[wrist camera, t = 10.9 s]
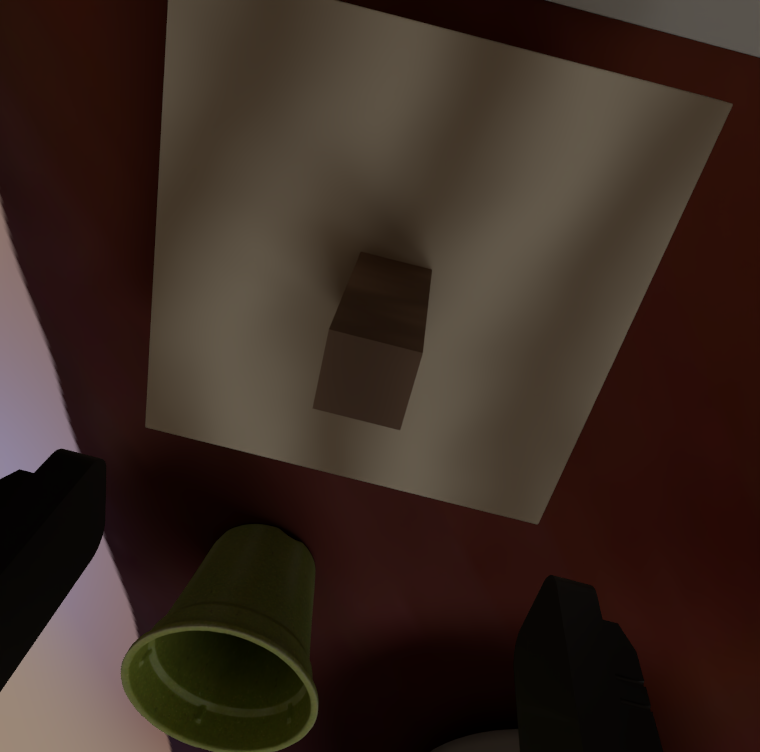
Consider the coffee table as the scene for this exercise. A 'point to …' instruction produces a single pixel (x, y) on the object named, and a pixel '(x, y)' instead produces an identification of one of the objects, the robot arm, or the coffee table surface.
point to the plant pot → (233, 649)
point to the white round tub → (484, 742)
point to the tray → (688, 19)
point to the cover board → (402, 243)
